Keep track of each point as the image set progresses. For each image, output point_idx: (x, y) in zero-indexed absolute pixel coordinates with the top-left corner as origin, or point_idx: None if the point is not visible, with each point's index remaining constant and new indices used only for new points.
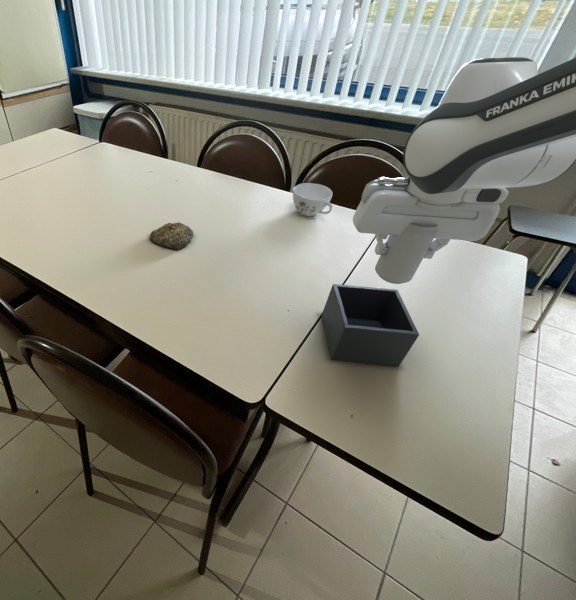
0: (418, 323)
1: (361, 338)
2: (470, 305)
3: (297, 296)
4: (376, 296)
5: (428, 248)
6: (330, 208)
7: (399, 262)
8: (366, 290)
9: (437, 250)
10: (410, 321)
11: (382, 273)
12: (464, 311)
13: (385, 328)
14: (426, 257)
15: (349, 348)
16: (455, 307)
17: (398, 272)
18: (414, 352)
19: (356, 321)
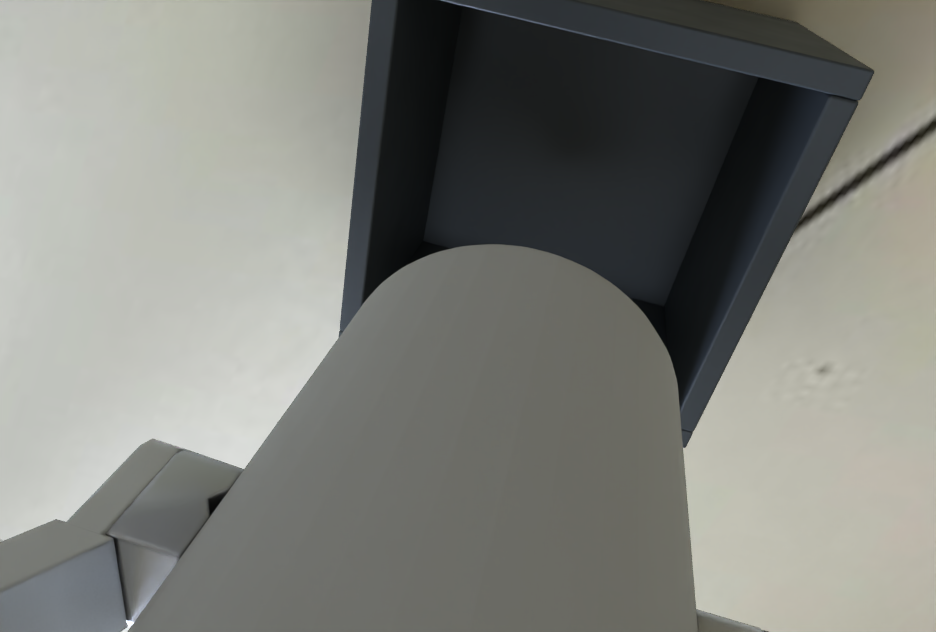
0: (253, 210)
1: (717, 24)
2: (26, 273)
3: (721, 438)
4: None
5: (139, 584)
6: None
7: (611, 458)
8: None
9: (36, 529)
10: (379, 86)
11: (676, 389)
12: (55, 247)
13: (428, 180)
14: (199, 464)
15: (747, 19)
16: (82, 272)
17: (582, 339)
18: (339, 39)
19: None
